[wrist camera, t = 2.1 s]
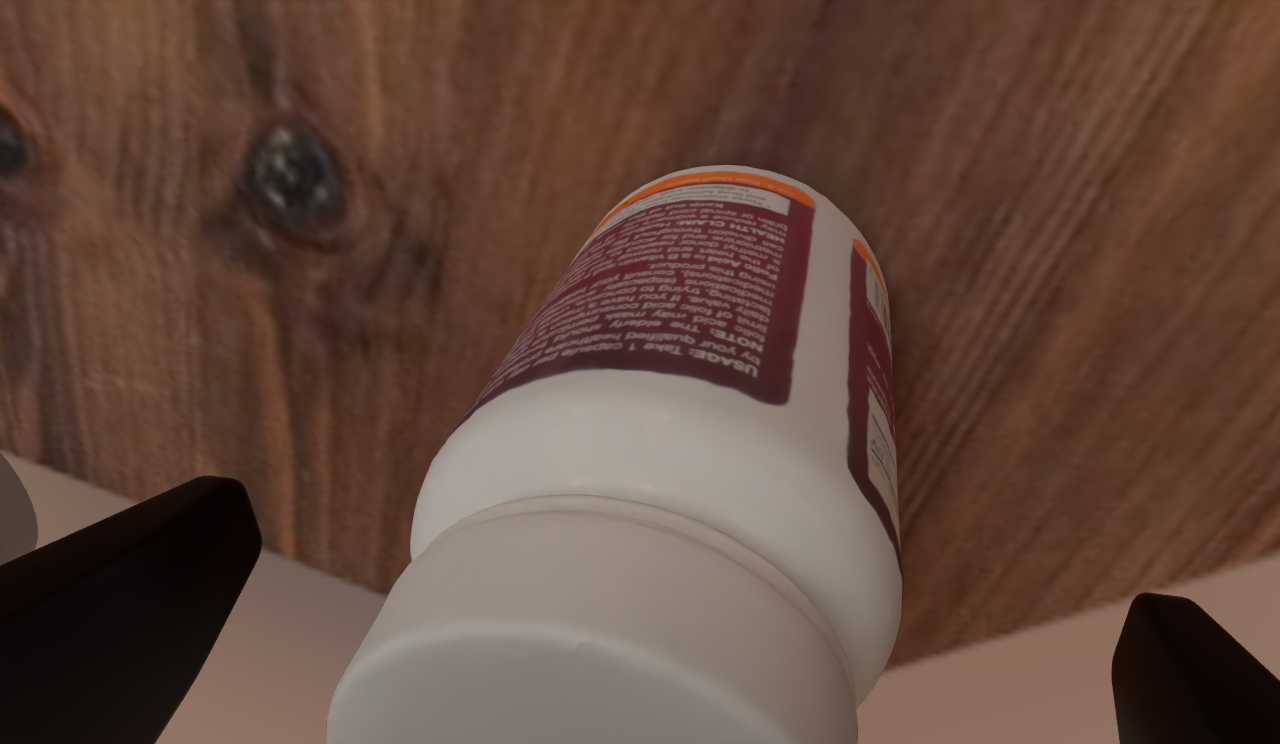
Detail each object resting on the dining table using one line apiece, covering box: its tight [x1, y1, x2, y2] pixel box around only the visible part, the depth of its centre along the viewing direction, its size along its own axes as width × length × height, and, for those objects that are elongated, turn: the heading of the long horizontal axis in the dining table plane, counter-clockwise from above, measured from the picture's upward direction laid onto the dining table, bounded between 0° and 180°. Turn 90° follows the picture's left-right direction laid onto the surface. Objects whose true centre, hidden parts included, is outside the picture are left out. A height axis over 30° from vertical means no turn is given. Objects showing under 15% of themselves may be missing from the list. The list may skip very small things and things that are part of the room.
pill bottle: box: [326, 165, 904, 744], centre depth 10 cm, size 5×5×8 cm
